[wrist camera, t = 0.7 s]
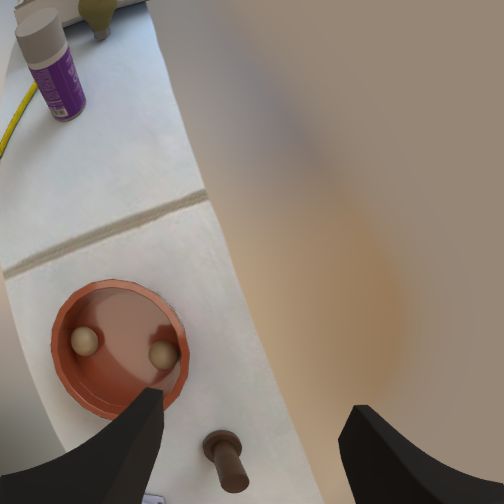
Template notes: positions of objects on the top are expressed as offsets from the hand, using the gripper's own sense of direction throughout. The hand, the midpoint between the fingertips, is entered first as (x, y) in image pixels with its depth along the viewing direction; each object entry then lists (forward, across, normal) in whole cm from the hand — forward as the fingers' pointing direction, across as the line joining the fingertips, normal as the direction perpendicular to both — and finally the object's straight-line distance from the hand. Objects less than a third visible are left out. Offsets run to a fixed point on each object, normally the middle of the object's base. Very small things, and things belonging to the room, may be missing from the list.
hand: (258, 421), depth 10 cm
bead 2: (+15, +7, +8) cm, 18 cm away
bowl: (+16, +11, +9) cm, 21 cm away
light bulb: (+31, +26, -28) cm, 49 cm away
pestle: (+14, 0, +18) cm, 23 cm away
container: (+25, +25, -16) cm, 39 cm away
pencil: (+22, +32, -13) cm, 41 cm away
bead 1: (+14, +14, +8) cm, 22 cm away
